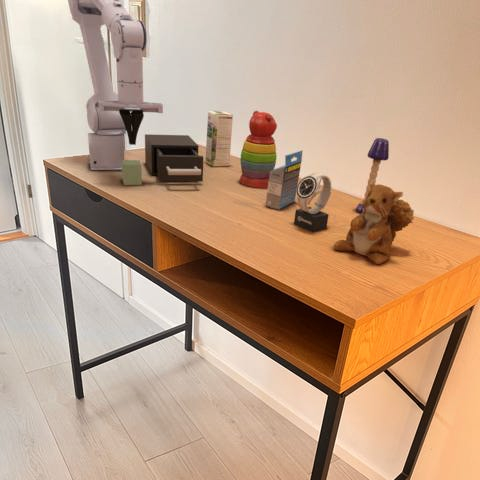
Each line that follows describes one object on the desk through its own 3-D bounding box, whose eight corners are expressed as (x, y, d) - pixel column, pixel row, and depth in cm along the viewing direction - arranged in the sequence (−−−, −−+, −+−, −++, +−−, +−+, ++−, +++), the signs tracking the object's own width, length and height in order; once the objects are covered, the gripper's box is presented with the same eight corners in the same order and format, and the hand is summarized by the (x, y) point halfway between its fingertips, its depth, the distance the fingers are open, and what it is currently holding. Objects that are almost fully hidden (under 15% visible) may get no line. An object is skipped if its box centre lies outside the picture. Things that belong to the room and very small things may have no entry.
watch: (287, 225, 105) (294, 173, 99) (312, 219, 109) (320, 169, 104) (306, 233, 101) (314, 180, 96) (332, 227, 106) (341, 175, 100)
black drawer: (207, 187, 122) (208, 161, 119) (162, 187, 119) (161, 161, 116) (192, 169, 136) (193, 145, 133) (152, 168, 133) (151, 145, 130)
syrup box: (204, 162, 147) (206, 110, 140) (222, 161, 150) (225, 110, 142) (211, 166, 143) (214, 113, 136) (230, 166, 145) (233, 113, 138)
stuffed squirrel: (329, 250, 94) (341, 181, 88) (369, 235, 103) (383, 172, 96) (373, 268, 88) (390, 196, 82) (411, 250, 97) (430, 184, 91)
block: (123, 185, 121) (123, 164, 118) (122, 180, 124) (121, 159, 122) (142, 184, 122) (141, 164, 120) (139, 180, 126) (139, 160, 123)
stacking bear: (284, 186, 130) (293, 115, 121) (252, 190, 125) (259, 115, 116) (261, 176, 138) (268, 108, 129) (230, 179, 133) (235, 108, 124)
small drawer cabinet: (197, 175, 134) (198, 145, 130) (151, 175, 130) (151, 144, 126) (187, 163, 144) (188, 135, 140) (145, 163, 141) (144, 134, 137)
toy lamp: (376, 210, 118) (392, 138, 110) (375, 216, 114) (392, 142, 106) (356, 207, 119) (370, 135, 111) (354, 213, 115) (369, 139, 107)
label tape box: (281, 198, 121) (287, 146, 115) (296, 201, 120) (303, 149, 113) (264, 206, 115) (270, 152, 108) (280, 210, 113) (286, 155, 107)
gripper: (98, 82, 106) (102, 147, 113) (164, 85, 110) (165, 147, 117) (96, 78, 112) (100, 140, 119) (160, 81, 116) (160, 141, 123)
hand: (132, 143), depth 119 cm, fingers closed
